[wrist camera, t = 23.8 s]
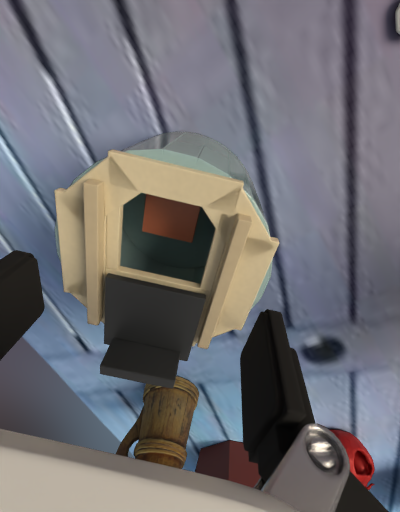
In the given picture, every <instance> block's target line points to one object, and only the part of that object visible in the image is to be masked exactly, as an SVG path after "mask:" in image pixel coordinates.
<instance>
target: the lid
mask: <svg viewBox="0 0 400 512" xmlns="http://www.w3.org/2000/svg"><path fill="white" fill-rule="evenodd" d="M243 186H244V183H243V181H241V180H237V179H233V178H229V177H225V176H221V175H217V174H212V173H208V172H204V171H200V170H196V169H192V168H188V167H183V166H179V165H175V164H171V163H167V162H163V161H158V160H154V159H150V158H146V157H142V156H138V155H134V154H129V153H125V152H121V151H117V150H110V151H108V157H107V158H105V159H104V160H103V161H102V162H100V163H99V164H98V165H97V166H95V167H94V168H93V169H92V170H90V171H89V172H88V173H86V174H85V175H84V176H83V177H81V178H80V179H79V180H78V181H76V182H75V183H74V184H73V185H71V186H70V187H69V188H68V189H64V188H58V189H56V190H55V202H56V213H57V223H58V234H59V244H60V255H61V266H62V276H63V287H64V292H68V293H71V294H72V295H73V296H74V297H75V298H76V299H78V300H79V301H80V302H81V303H82V304H83V305H84V306H85V307H86V308H87V318H88V324H92V325H99V323H100V321H101V322H103V323H104V322H105V277H106V275H107V274H108V273H111V274H115V275H120V276H124V277H129V278H133V279H138V280H142V281H147V282H151V283H156V284H160V285H165V286H169V287H174V288H178V289H183V290H187V291H192V292H196V293H201V294H205V295H206V300H205V303H204V307H203V310H202V314H201V317H200V320H199V324H198V327H197V330H196V334H195V337H194V340H193V344H192V346H195V344H196V343H198V347H200V348H204V349H208V347H209V344H210V341H211V339H212V337H215V336H217V335H220V334H223V333H225V332H228V331H231V330H234V329H237V330H242V328H243V325H244V323H245V321H246V318H247V316H248V314H249V311H250V309H251V307H252V305H253V302H254V300H255V298H256V295H257V293H258V291H259V288H260V286H261V284H262V282H263V279H264V277H265V275H266V272H267V270H268V268H269V265H270V263H271V261H272V259H273V256H274V254H275V252H276V249H277V247H278V245H279V241H278V239H277V238H273V237H270V236H269V234H268V232H267V230H266V228H265V227H264V225H263V223H262V221H261V220H260V218H259V216H258V214H257V212H256V211H255V209H254V207H253V205H252V203H251V202H250V200H249V198H248V196H247V194H246V193H245V191H244V189H243ZM140 193H144V194H148V195H153V196H157V197H161V198H165V199H170V200H174V201H178V202H182V203H187V204H191V205H195V206H199V207H202V208H203V210H204V212H205V213H206V215H207V216H208V218H209V219H210V221H211V222H212V224H213V225H214V227H215V232H214V236H213V239H212V243H211V247H210V250H209V254H208V258H207V261H206V265H205V269H204V272H203V276H202V280H201V284H199V283H195V282H190V281H186V280H181V279H177V278H172V277H168V276H164V275H159V274H155V273H150V272H146V271H141V270H137V269H132V268H128V267H123V266H120V259H121V241H122V222H123V205H124V204H126V203H127V202H129V201H130V200H132V199H133V198H134V197H136V196H137V195H139V194H140Z"/></svg>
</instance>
